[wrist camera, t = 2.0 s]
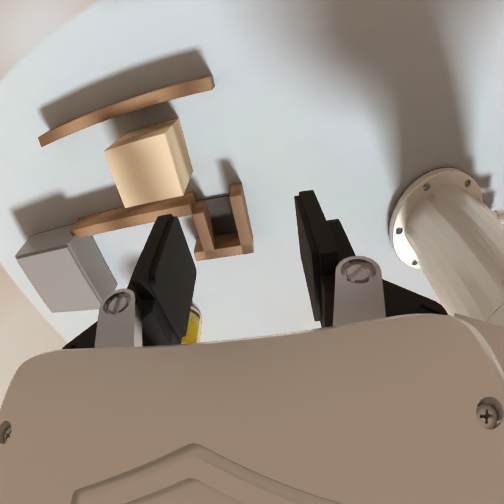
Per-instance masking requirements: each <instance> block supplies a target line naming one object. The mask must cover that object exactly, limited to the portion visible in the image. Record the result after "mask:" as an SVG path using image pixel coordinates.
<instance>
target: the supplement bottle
mask: <svg viewBox="0 0 504 504" xmlns="http://www.w3.org/2000/svg"><path fill="white" fill-rule="evenodd" d="M201 325H202V316H201V314H200V312H199V311H198V310H197V309H196V308H194V307H193V306H191V309H190V315H189V321H188V328H187V334H186V337H182V343H181V344H189V343H200V334H201Z"/></svg>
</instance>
